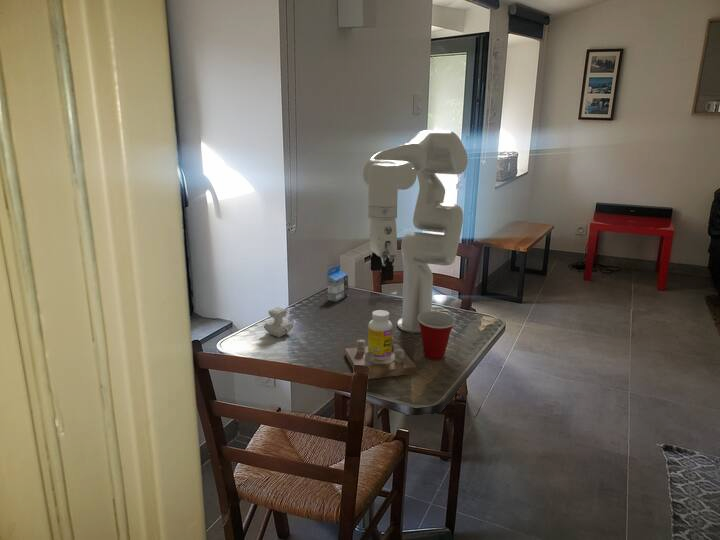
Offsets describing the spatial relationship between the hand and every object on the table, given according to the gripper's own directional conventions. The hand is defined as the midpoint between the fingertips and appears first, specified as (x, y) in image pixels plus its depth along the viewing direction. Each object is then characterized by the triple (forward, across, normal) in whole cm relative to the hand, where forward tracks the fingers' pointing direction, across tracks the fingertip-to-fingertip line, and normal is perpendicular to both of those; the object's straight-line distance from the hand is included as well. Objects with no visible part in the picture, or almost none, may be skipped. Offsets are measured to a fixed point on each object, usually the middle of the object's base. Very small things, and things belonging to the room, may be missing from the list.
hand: (381, 275), depth 144 cm
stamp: (+26, +28, +25) cm, 46 cm away
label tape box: (+26, +58, -1) cm, 64 cm away
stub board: (+26, 0, 0) cm, 26 cm away
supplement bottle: (+24, 0, 0) cm, 24 cm away
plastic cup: (+26, +1, -17) cm, 31 cm away
